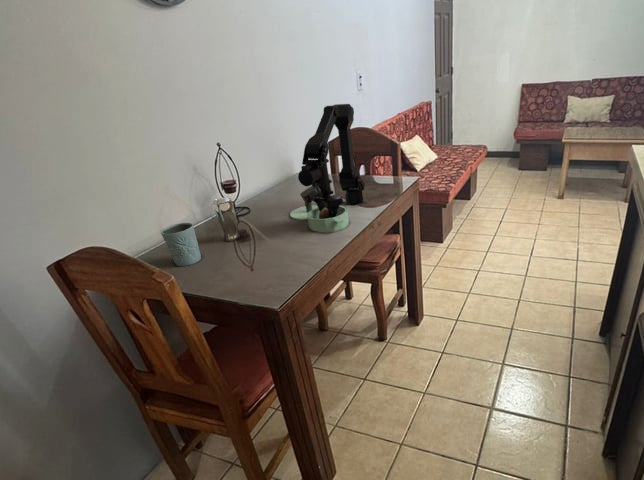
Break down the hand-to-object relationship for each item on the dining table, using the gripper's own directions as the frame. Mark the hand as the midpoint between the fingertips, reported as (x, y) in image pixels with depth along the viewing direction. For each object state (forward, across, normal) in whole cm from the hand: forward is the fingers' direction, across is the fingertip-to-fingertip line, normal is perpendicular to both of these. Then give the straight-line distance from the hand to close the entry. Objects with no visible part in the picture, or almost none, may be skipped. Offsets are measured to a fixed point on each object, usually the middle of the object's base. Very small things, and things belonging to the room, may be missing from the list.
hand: (328, 218), depth 161 cm
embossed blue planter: (+3, -8, -51) cm, 52 cm away
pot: (+3, 0, 0) cm, 3 cm away
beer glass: (+3, -16, -33) cm, 37 cm away
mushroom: (+2, 0, 0) cm, 2 cm away
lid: (+2, -18, 0) cm, 18 cm away
